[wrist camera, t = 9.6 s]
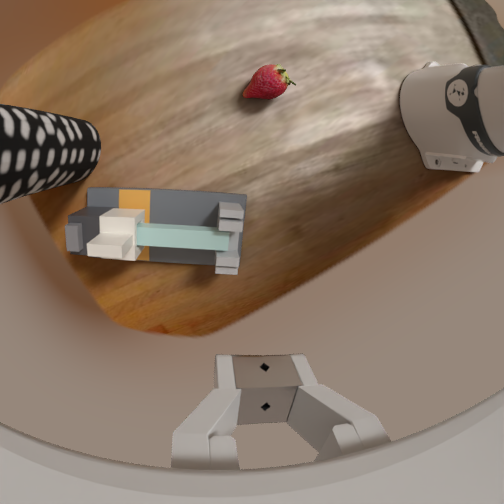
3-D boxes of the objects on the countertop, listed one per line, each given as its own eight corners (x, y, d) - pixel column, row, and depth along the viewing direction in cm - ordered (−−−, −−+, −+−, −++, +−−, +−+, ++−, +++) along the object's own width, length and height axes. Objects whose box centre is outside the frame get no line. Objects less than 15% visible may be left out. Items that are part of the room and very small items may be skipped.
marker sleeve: (144, 209, 31) (123, 227, 23) (144, 247, 32) (124, 276, 24) (113, 208, 30) (83, 225, 22) (114, 245, 32) (87, 272, 24)
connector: (115, 207, 31) (95, 219, 25) (115, 241, 33) (97, 260, 26) (87, 206, 31) (63, 218, 24) (88, 240, 32) (66, 257, 26)
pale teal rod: (228, 228, 32) (229, 232, 30) (226, 245, 32) (227, 250, 30) (93, 220, 29) (87, 224, 27) (94, 237, 30) (87, 242, 28)
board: (245, 194, 34) (246, 195, 33) (238, 263, 37) (239, 266, 36) (90, 187, 31) (87, 188, 30) (92, 254, 34) (89, 257, 33)
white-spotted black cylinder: (57, 116, 27) (-50, 103, 8) (108, 123, 29) (8, 99, 10) (44, 177, 29) (-63, 206, 10) (93, 187, 31) (-10, 226, 12)
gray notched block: (239, 203, 33) (244, 212, 28) (233, 258, 36) (237, 276, 30) (219, 201, 33) (220, 210, 28) (214, 257, 35) (215, 275, 30)
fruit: (233, 81, 29) (236, 69, 25) (277, 65, 29) (287, 52, 25) (248, 110, 31) (254, 102, 26) (291, 93, 31) (304, 84, 26)
